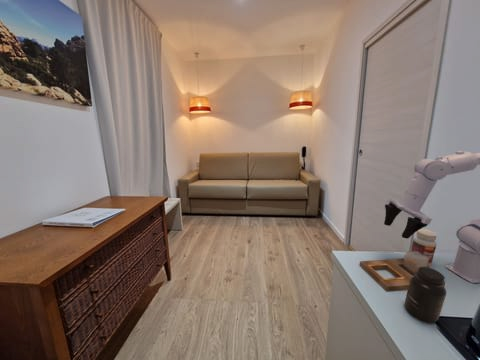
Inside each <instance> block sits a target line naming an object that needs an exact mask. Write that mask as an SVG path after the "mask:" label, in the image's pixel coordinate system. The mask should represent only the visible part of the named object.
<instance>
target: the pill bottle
mask: <svg viewBox="0 0 480 360" xmlns="http://www.w3.org/2000/svg"><path fill="white" fill-rule="evenodd" d="M437 236H438V235H437V233H436V232H435V231H432V230H430V229H425V228H421V229H420V230H418V231H416V235H415V236H414V237H413V239H412V244H411V249H410V252H413V251H417V252H419V253H421V254H422V255H424V256H426V257H427V258H429V260H428V264H427V267H429V266H431V265H432V264H433V259H434V257H435V256H434V255H435V252H436V248H437V244H438V243H437V242H436V239H437Z"/></svg>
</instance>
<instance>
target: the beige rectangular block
mask: <svg viewBox="0 0 480 360" xmlns="http://www.w3.org/2000/svg"><path fill="white" fill-rule="evenodd" d="M404 258H405V259H404V263H403V269H404V270H406V271H407V272H408V273H410V274H411V275H412V276H415V275H417V272H418V270H419V268H420V267H428V266H427V264H428V260H429V258H427V257H426V256H424V255H422V254H421V253H419V252H417V251H413V252H411V251H406V252H405V256H404Z"/></svg>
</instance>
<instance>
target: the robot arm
mask: <svg viewBox="0 0 480 360" xmlns="http://www.w3.org/2000/svg"><path fill="white" fill-rule="evenodd" d="M477 166H480V152H477V153H476V152H475V153H473V152H470V151H464V150H457V151H455V153H454V154H453V153H452V154H449V155H444V156H443V155H442V156H441V155H438V156H435V158H433V159H432V158H423V159H421V160H420V161H419V162H417V163H415V164H414V168H413V169H414V170H413V171H414V174H413V177H412V178H411V180H410V182H409V184H408V186H407V187H406V190H405V191H404V193H403V194H402V197H401V199H400V200H398V199H395V198H392V197H389V198H388V200H387V201H386V203H387V204H386V203H385V204H384V209H385V215H384V223H383V225H385V226H388V227H391V226H392V224H393V223H394V221H395V219H396V218H397V216H399V214H400V213H401V212H402V211H403V212H404V213H406V214H408V215H409V216H408V217H407V221H406V225H405V228H404V230H403V231H402V233H401V238H403V239H408V240H409V238H411V237H412V236H413V235H414V234H415V233H417V231H418V230H420V229H424V228H426V227H428V225H430V224H431V222H432V220H433V218H431V217H430V216H428V215H426V214H425V213H423V212H422V211H421V210H422V207H423V206H424V204H425V203H426V201H427V199H428V197H429V196H430V194H431V193H432V190H433V189H434V187H435V186H436V184H437V182H438V180H439V181H440V180H443V179H445V178H446V177H447V176H450V175H454V174H460V173H465V172H469V171H473V170H475V169H476V168H477ZM455 235H456V238H457V239H459V241H458V243H459V244H458V246H457V250H456V255H455V257H454V261H453V264H449V265H448V264H447V265H444V267H445V268H446V269H447V270H450V271H451V272H453V273H454V274H456V275H457V276H459V277H460V278H463V279H464V280H466V281H468V282H469V283H471V284H475V283H477V284H478V283H480V218H476V219H472V220H470V221H469V222H468V223H466V224H464V225H460V227H459V226H458V228H457V229H456V232H455Z"/></svg>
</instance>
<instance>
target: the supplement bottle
mask: <svg viewBox="0 0 480 360" xmlns="http://www.w3.org/2000/svg"><path fill="white" fill-rule="evenodd" d="M444 281H445V276H444V274H442V273H441V272H440V271H438V270H436V269H434V268H431V267H429V266H427V267H420V268H419V270H418V272H417V275H415V276H413V277H411V279H410V283H409V287H408V290H406V295H405V299H404V302H403V303H404V308H405V310H406V311H407V312H408V313H409V314H410V315H411V316H412V317H414V318H415V319H417V320H419V321H421V322H424V323H428V324H433V323H434V324H435V323H437V322H438V321H439V320H440V319H439V318H440V315H441V313H442V309H443V306H444V303H445V299H446V298H447V297H446V296H447V290H446V288H445V285H444V286H443V284H444ZM437 320H438V321H437ZM436 321H437V322H436Z"/></svg>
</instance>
